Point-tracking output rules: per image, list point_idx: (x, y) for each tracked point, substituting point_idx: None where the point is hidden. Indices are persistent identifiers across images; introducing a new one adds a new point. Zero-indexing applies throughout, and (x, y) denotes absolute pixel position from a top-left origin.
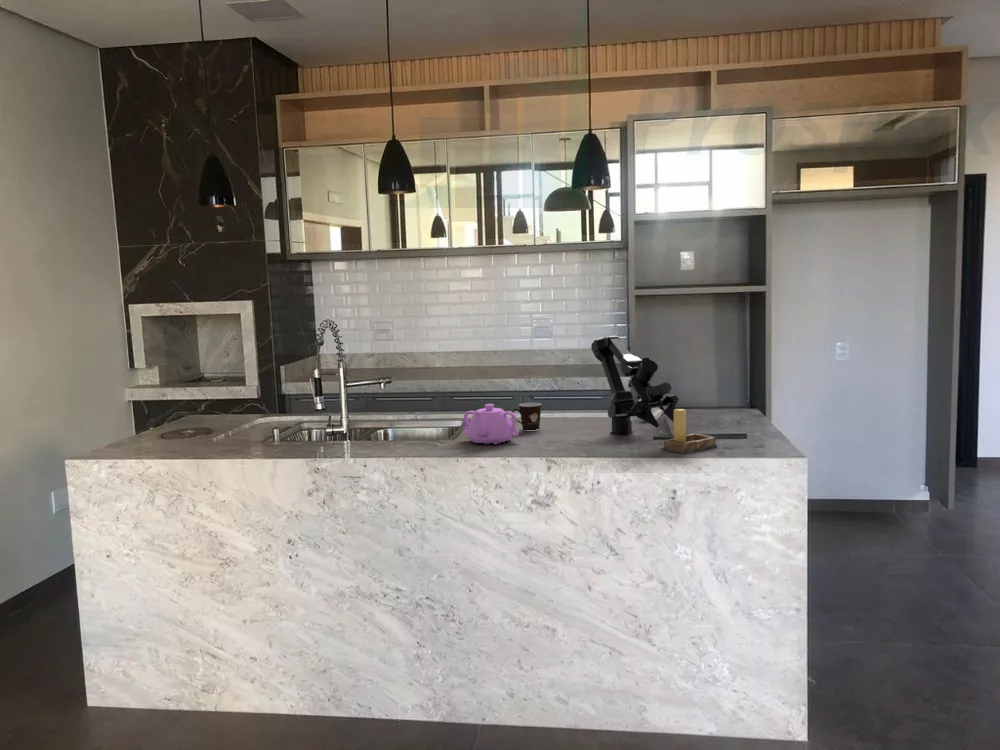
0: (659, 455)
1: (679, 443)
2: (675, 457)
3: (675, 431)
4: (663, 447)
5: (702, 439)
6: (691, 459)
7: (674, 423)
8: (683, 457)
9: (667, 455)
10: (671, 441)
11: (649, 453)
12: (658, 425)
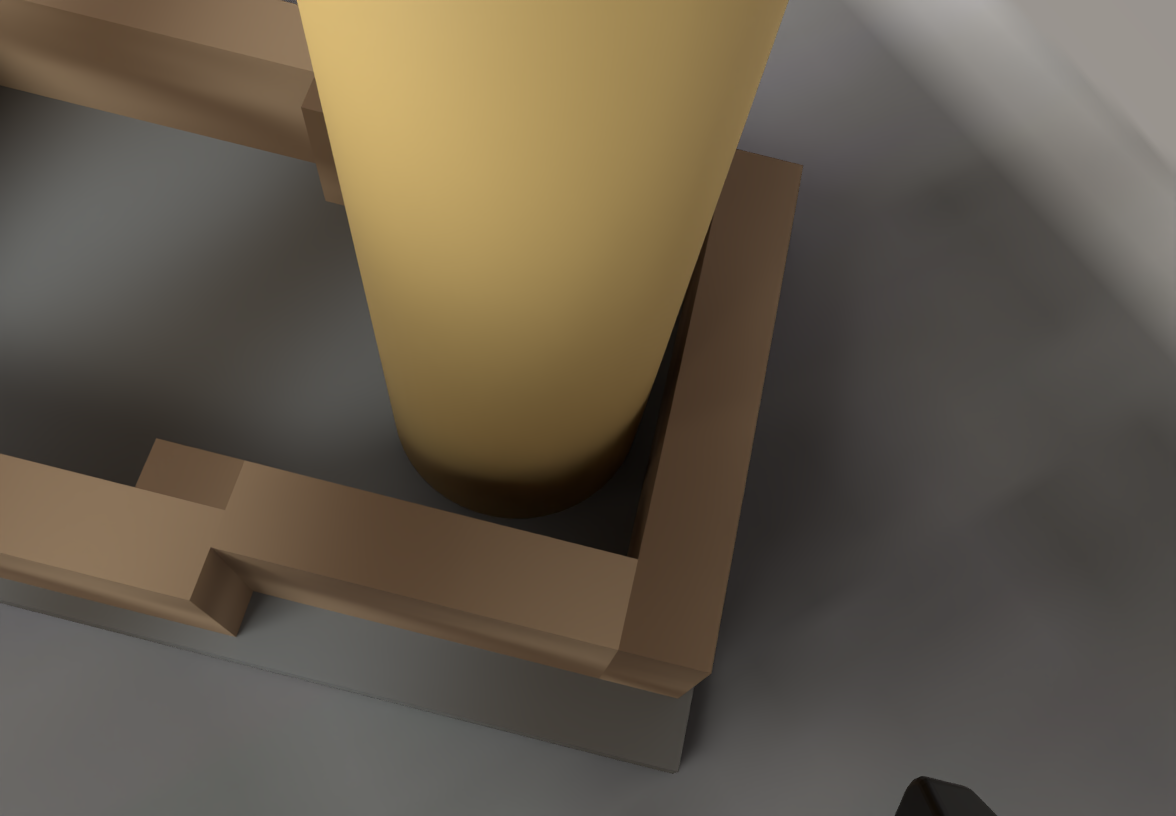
0: (1142, 512)
1: (758, 232)
2: (1058, 230)
3: (704, 237)
4: (658, 720)
5: (159, 18)
6: (992, 8)
7: (743, 113)
8: (972, 136)
9: (1041, 394)
10: (692, 457)
11: (1161, 769)
12: (949, 787)
